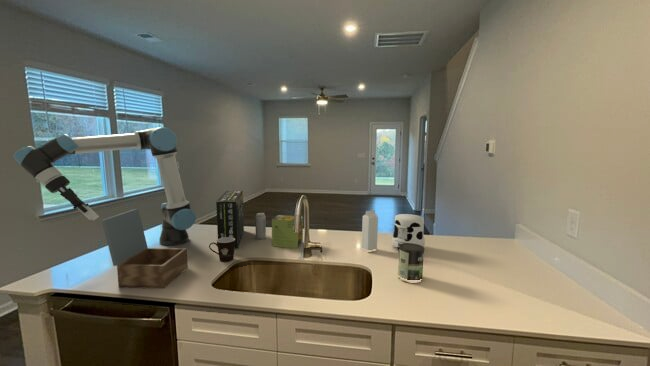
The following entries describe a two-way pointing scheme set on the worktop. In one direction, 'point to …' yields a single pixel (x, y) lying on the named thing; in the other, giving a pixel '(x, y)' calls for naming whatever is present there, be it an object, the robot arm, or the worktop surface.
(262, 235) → the energy drink can
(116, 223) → the lid
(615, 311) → the worktop surface
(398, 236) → the milk container
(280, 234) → the protein box
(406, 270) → the coffee can
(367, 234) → the milk
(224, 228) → the router box
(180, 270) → the walnut box
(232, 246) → the coffee mug
